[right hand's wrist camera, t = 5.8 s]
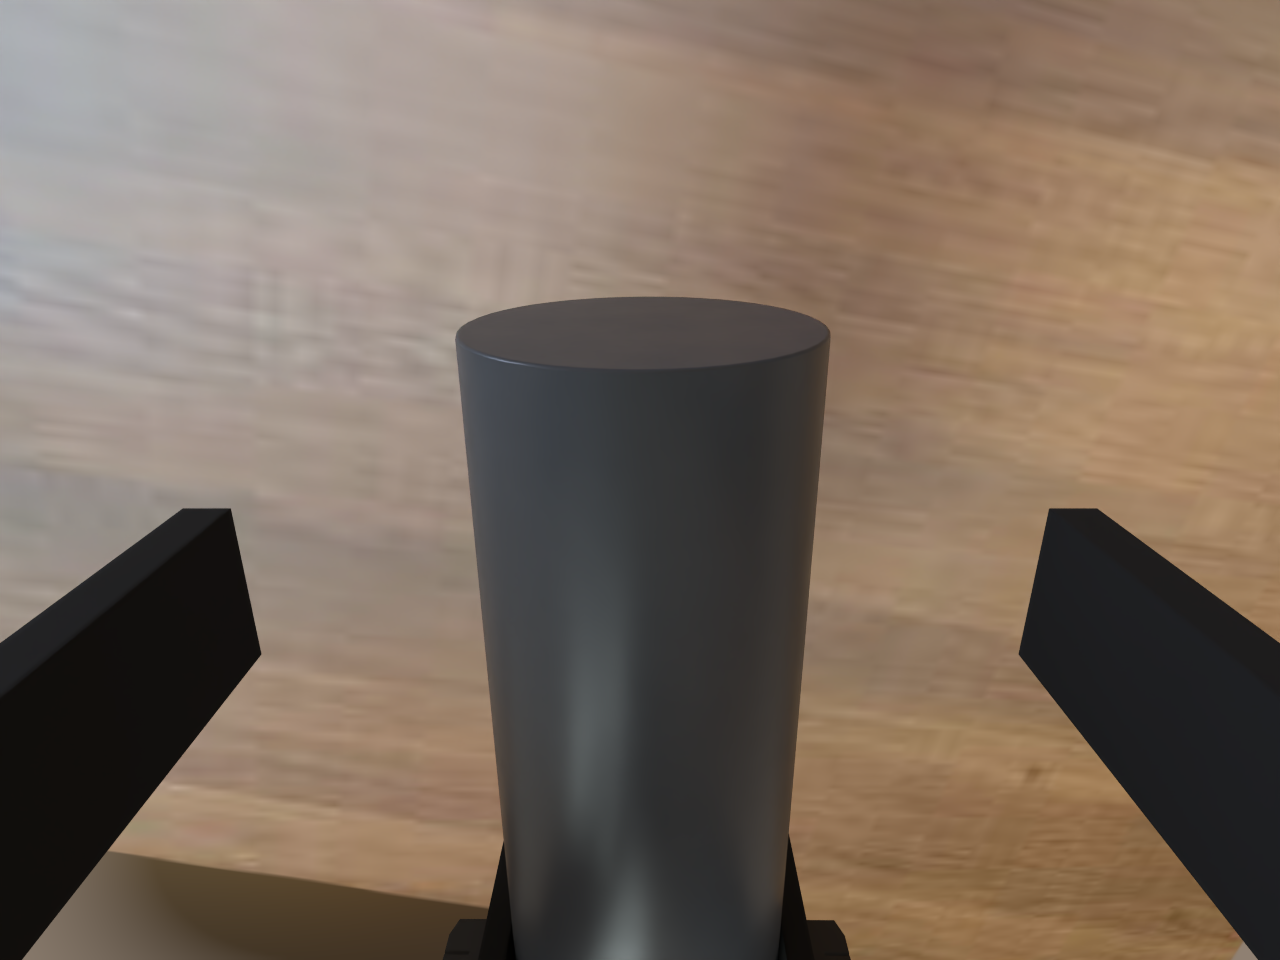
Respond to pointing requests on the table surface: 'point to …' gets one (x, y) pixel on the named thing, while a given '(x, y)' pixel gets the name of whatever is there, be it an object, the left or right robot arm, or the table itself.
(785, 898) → the left robot arm
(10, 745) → the right robot arm
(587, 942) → the rod
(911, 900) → the table surface
